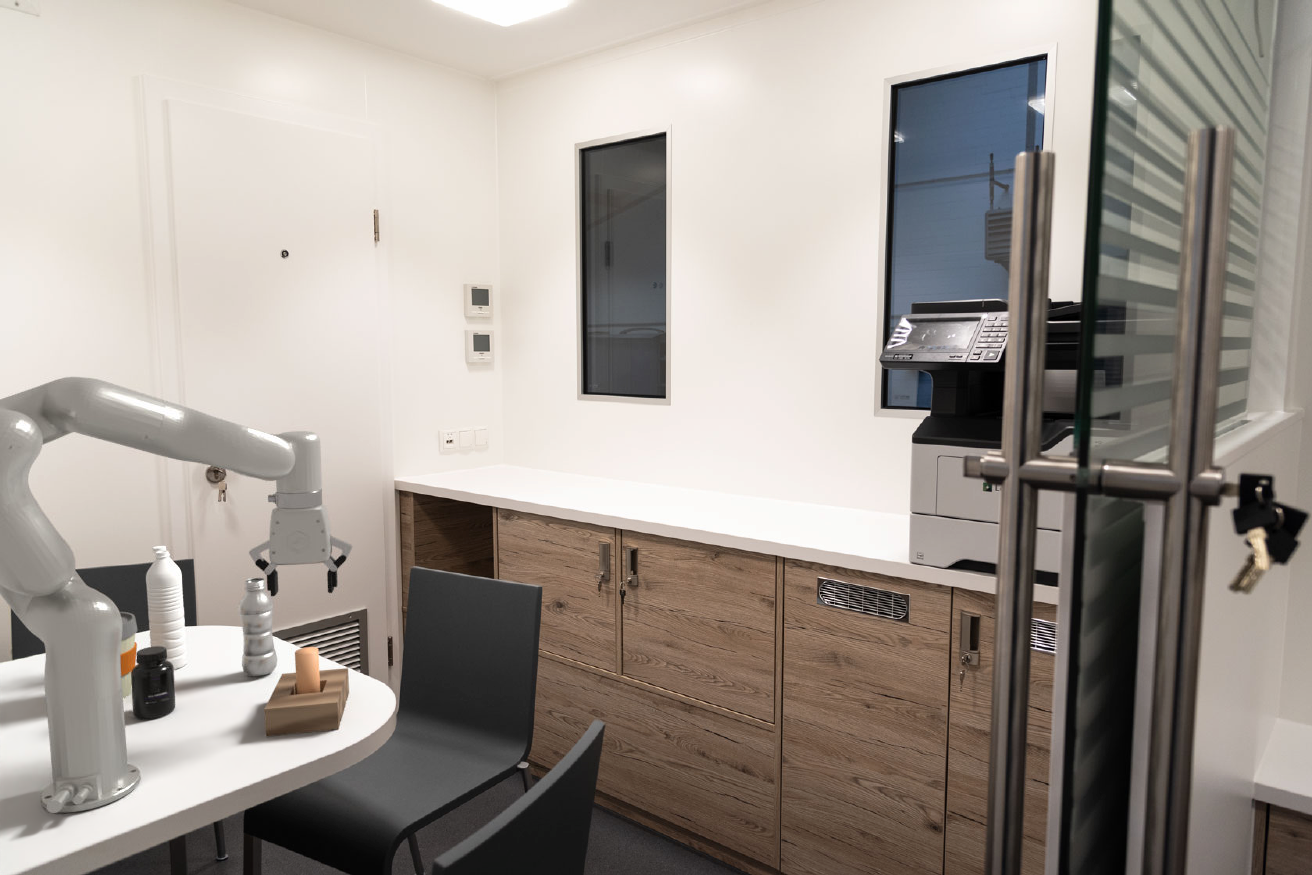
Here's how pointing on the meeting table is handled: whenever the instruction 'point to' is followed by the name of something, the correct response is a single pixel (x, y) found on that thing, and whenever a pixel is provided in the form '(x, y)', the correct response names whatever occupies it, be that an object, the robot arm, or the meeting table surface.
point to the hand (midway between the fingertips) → (303, 592)
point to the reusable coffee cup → (127, 650)
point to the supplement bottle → (152, 684)
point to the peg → (307, 670)
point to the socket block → (307, 704)
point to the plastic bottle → (257, 629)
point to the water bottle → (166, 607)
